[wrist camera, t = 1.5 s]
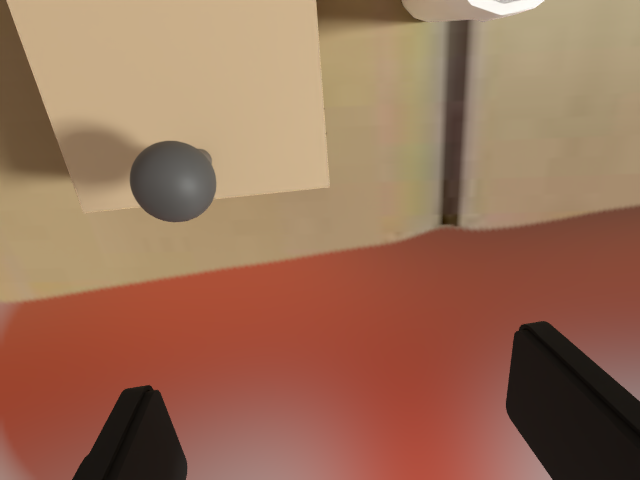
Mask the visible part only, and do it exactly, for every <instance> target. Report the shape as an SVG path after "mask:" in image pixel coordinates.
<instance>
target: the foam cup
mask: <svg viewBox="0 0 640 480" xmlns="http://www.w3.org/2000/svg"><path fill="white" fill-rule="evenodd" d="M543 1H544V0H402V4H403V6H404V8H405V9H406V10H407V11H408V12H409V13H410V14H411V15H412V16H413V17H414V18H416V19H419V20H422V21H426V22H440V21H455V20H470V19H475V20H478V21H481V22H485V21H489V20H493V19H498V18H502V17H507V16H511V15H515V14H518V13H521V12H524V11H527V10H530V9H533V8H535V7H537V6H538V5H539V4H540V3H542V2H543Z"/></svg>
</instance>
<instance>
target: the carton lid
mask: <svg viewBox="0 0 640 480" xmlns="http://www.w3.org/2000/svg"><path fill="white" fill-rule="evenodd" d="M6 1H7V4H8V6H9V9H10V12H11V15H12V17H13V20H14V23H15V26H16V28H17V31H18V34H19V37H20V40H21V42H22V45H23V48H24V51H25V53H26V56H27V59H28V62H29V64H30V67H31V70H32V73H33V75H34V78H35V81H36V84H37V86H38V89H39V92H40V95H41V97H42V100H43V103H44V106H45V108H46V111H47V114H48V117H49V120H50V122H51V125H52V128H53V131H54V133H55V136H56V139H57V142H58V144H59V147H60V150H61V153H62V155H63V158H64V161H65V164H66V166H67V169H68V172H69V175H70V177H71V180H72V183H73V186H74V188H75V191H76V194H77V197H78V200H79V202H80V205H81V208H82V211H83V213H90V212H100V211H109V210H118V209H128V208H137V207H142V208H143V209H144V210H145V211H146V212H147V213H149V214H150V215H152V216H154V217H155V218H158V219H160V220H163V221H168V222H183V221H188V220H191V219H193V218H195V217H197V216H199V215H200V214H202V213H203V212H204V211H205V210H206V209H207V208H208V207H209V206H210V204H211V203H212V201H213V199H222V198H232V197H241V196H251V195H260V194H270V193H279V192H288V191H298V190H307V189H317V188H326V187H330V184H329V170H328V157H327V143H326V129H325V116H324V102H323V88H322V75H321V61H320V47H319V34H318V20H317V6H316V0H6Z"/></svg>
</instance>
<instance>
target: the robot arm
mask: <svg viewBox="0 0 640 480" xmlns="http://www.w3.org/2000/svg"><path fill="white" fill-rule="evenodd" d="M506 409H507V413H508V415H509V417H510V419H511V421H512V422H513V424H514V425H515V426H516V428H517V429H518V431H519V432H520V434H521V435H522V437H523V438H524V439H525V441H526V442H527V444H528V445H529V447H530V448H531V449H532V451H533V452H534V454H535V455H536V457H537V458H538V459H539V461H540V462H541V463H542V465H543V466H544V468H545V469H546V471H547V472H548V474H549V475H550V476H551V478H552V479H553V480H640V401H639V400H637V399H636V398H635V397H634V396H632V394H630V393H629V392H628V391H627V390H626V389H625V388H624V387H622V386H621V385H620V384H619V383H618V382H617V381H615V380H614V379H613V378H612V377H611V376H610V375H608V374H607V373H606V372H605V371H604V370H603V369H601V368H600V367H599V366H598V365H597V364H596V363H595V362H593V361H592V360H591V359H590V358H589V357H587V356H586V355H585V354H584V353H583V352H582V351H581V350H580V349H578V348H577V347H576V346H575V345H574V344H573V343H571V342H570V341H569V340H568V339H567V338H566V337H564V336H563V335H562V334H561V333H560V332H558V331H557V330H556V329H555V328H554V327H553V326H552V325H551V324H549V323H548V322H545V321H541V322H536V323H529V324H524V325H521V327H520V328H519V331H516V333H515V334H514V341H513V349H512V358H511V366H510V374H509V383H508V391H507V399H506ZM186 476H187V461H186V458H185V455H184V453H183V450H182V448H181V445H180V442H179V440H178V437H177V435H176V432H175V429H174V427H173V424H172V422H171V419H170V416H169V414H168V411H167V409H166V406H165V404H164V401H163V398H162V396H161V393H160V392H159V391H158V390H153V388H152V387H151V386H150V385H147V386H140V387H134V388H128V389H125V390H124V391H123V392H122V393H121V395H120V397H119V399H118V400H117V402H116V404H115V406H114V408H113V410H112V412H111V414H110V415H109V417H108V420H107V421H106V423H105V425H104V427H103V429H102V431H101V433H100V435H99V436H98V438H97V440H96V442H95V444H94V446H93V448H92V450H91V451H90V453H89V454H88V455H87V456H86V457H85V458H84V460H83V461H82V463H81V464H80V466H79V468H78V470H77V472H76V474H75V476H74V477H73V479H72V480H186Z"/></svg>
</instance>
